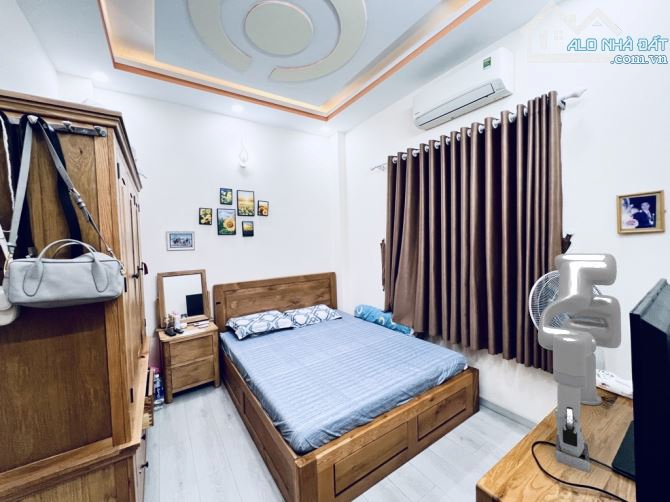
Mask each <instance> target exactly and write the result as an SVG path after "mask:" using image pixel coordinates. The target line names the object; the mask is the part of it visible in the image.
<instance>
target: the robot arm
mask: <svg viewBox="0 0 670 502" xmlns="http://www.w3.org/2000/svg"><path fill="white" fill-rule="evenodd" d="M554 266H555V268H556V271H558V273H559V274H558V275H559V276H558V289H557V298H556V299H555V300H554V301H552V302H551V303H549V304H548V305H547V306H546V307H545V308H544V309H543V311H542V312H541V314H540V316H539V321H538V330H537V331H538V332H537V341H538V344H539V345H540V346H541V347H542V348H544V349H546V350H550V351H552V368H553V369H552V370H553V373H552V374H553V377H552V379H553V381H554V382H555V383H557V389H556V393H557V394H556V398H557V399H556V400H557V402H556V404H557V406H556V408H557V411H558V418H562V419H563V418H564V428H563V443H565V444H568V445H572V446H575V447H577V432H576V423H579V419H580V417H581V405H588V406H598V405H600V404H601V405H602V403H603V402H602V397H601V396H599V395H598V394H597V358H596V355H595V352H596V350H597V347H599V348H600V347H601V348H607V349H618V348H619V347H620V346H621V342H622V312H621V311H622V310H621V304H620V302H619V299H617V298H616V297H615V296H612V295H606V294H595V293H594V286H613V285H614V284H615V282H616V280H617V276H618V275H617V272H618V270H617V268H618V267H617V261H616V258H615V257H614V255H612V254H610V253H584V252H583V253H582V252H581V253H573V252H571V253H561V254H558V255H556V256H555V258H554ZM566 313H567V314H568V315H570V316H573V317H577V318H568V319H565V320H564V321H563V322H562V323H561V327H559V326H551V322H552V320H553V319H554V318H556V317H557V316H559V315H562V314H566ZM581 318H585V319H581ZM589 319H591V320H589ZM592 319H593V320H592ZM596 320H599V321H596ZM572 408H573V413H572ZM565 414H567V419H566V418H565ZM573 418H574V421H573ZM566 421H567V424H566ZM573 423H574V426H573Z"/></svg>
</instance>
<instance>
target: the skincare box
mask: <svg viewBox="0 0 670 502" xmlns="http://www.w3.org/2000/svg"><path fill="white" fill-rule="evenodd" d="M572 413H573V408H572ZM554 414H555V415H554V416H555V421H556V428H557V433H558V434H559V440H560V452H562V453H565V454H568V455H571V456H574V457H577V458H580V456H581V455H582V454H583V453H584V451H583V450H584V436H583V432H582V425H581V421H580V420H581V419H580V418H579V423H576V432H577V447H575V446H572V445H568V444H565V443H563V428H564V418H563V419H562V418H558V411H557V407H556V408H555V409H554ZM565 418H566V419H567V414H565ZM573 421H574V418H573ZM566 424H567V421H566ZM573 426H574V423H573Z"/></svg>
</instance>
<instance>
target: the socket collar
mask: <svg viewBox="0 0 670 502" xmlns="http://www.w3.org/2000/svg"><path fill="white" fill-rule="evenodd" d="M555 435H556V437H555V461H556V462H560V463H562V464H564V465H568V466H569V467H573V468H576V469H579V470H581V471H584V472H587V473H591V463H590V461H591V460H590V454H589V447H588V441H584V440H583V441H584V450H583V454H584V456H583V457H584V459H582V458H580V457H575V456H573V455H570V454H567V453H565V452H563V451H561V446H560V440H559V434H558V432H556V434H555Z"/></svg>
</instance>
